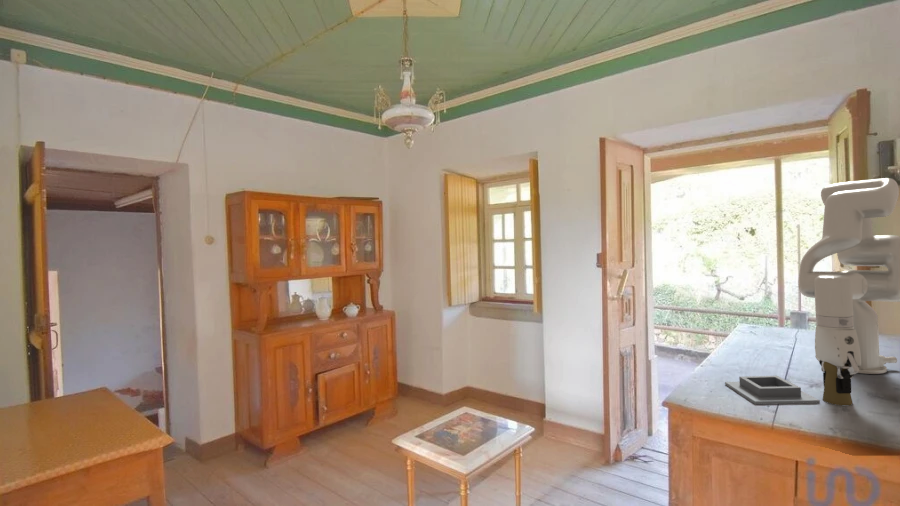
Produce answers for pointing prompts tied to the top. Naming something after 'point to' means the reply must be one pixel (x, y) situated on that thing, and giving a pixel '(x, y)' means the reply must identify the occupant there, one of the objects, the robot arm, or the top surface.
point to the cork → (834, 387)
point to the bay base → (770, 390)
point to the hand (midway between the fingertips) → (837, 389)
